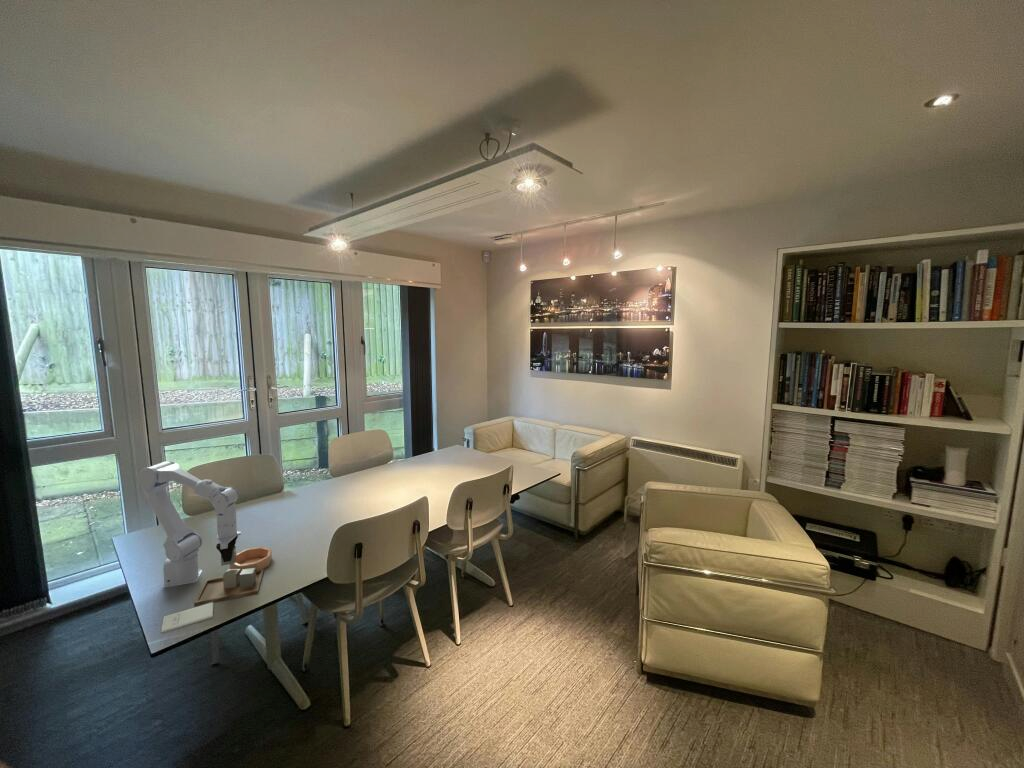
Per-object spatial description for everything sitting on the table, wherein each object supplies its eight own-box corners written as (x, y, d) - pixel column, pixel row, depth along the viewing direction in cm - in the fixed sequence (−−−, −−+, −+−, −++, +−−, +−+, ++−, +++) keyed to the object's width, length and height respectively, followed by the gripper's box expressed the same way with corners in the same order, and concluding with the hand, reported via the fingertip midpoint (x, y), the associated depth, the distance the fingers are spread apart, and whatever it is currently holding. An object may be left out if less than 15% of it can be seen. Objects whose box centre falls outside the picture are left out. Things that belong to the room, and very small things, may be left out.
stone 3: (240, 588, 142) (239, 574, 142) (243, 582, 145) (242, 569, 145) (253, 586, 143) (252, 573, 143) (255, 580, 147) (255, 567, 146)
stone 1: (221, 565, 143) (220, 552, 143) (223, 560, 146) (222, 547, 146) (234, 563, 145) (234, 550, 144) (236, 558, 148) (235, 545, 147)
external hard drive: (213, 620, 127) (161, 636, 120) (213, 606, 134) (164, 620, 127) (212, 615, 127) (160, 631, 120) (213, 601, 134) (163, 615, 127)
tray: (194, 606, 133) (193, 602, 132) (205, 583, 145) (205, 579, 145) (257, 594, 140) (257, 590, 140) (263, 572, 152) (263, 569, 152)
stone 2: (223, 588, 142) (222, 575, 141) (228, 582, 145) (227, 569, 144) (236, 587, 142) (235, 574, 142) (240, 581, 146) (240, 568, 145)
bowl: (228, 578, 148) (227, 568, 148) (235, 560, 160) (235, 550, 159) (268, 571, 153) (268, 561, 153) (272, 554, 165) (272, 545, 165)
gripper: (237, 529, 139) (238, 566, 141) (243, 512, 152) (244, 546, 154) (212, 533, 136) (214, 570, 138) (220, 515, 149) (222, 550, 150)
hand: (228, 558), depth 145 cm, fingers closed on stone 1, 3 cm apart
